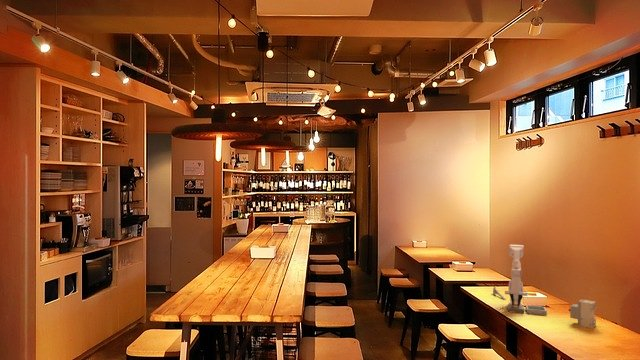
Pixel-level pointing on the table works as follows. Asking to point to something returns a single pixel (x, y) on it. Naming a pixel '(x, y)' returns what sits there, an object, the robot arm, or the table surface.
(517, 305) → the fuse
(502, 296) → the caliper
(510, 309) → the fuse holder
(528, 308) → the parts tray
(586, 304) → the circuit breaker
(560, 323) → the table surface
